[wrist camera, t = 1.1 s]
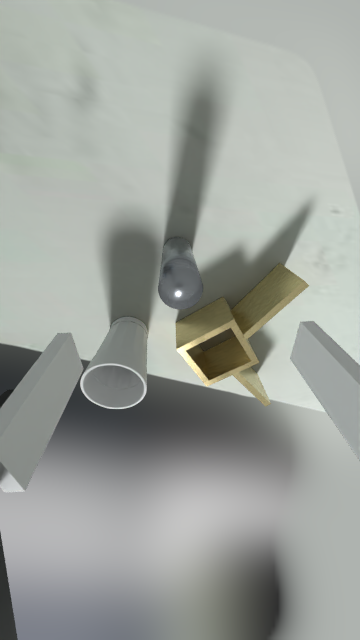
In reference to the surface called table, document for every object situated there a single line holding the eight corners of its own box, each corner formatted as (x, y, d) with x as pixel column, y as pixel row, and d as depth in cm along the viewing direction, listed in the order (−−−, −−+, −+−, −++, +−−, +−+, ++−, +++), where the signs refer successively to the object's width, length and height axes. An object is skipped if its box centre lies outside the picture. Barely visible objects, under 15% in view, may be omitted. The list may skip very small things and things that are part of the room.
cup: (158, 346, 40) (153, 403, 30) (114, 354, 40) (95, 413, 30) (145, 307, 36) (135, 357, 25) (97, 317, 36) (68, 369, 26)
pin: (157, 247, 31) (149, 283, 20) (181, 231, 30) (188, 258, 19) (172, 271, 33) (174, 316, 22) (196, 256, 32) (210, 295, 21)
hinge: (174, 321, 37) (175, 347, 31) (281, 261, 33) (306, 279, 27) (225, 388, 46) (233, 419, 40) (315, 348, 41) (340, 376, 35)
